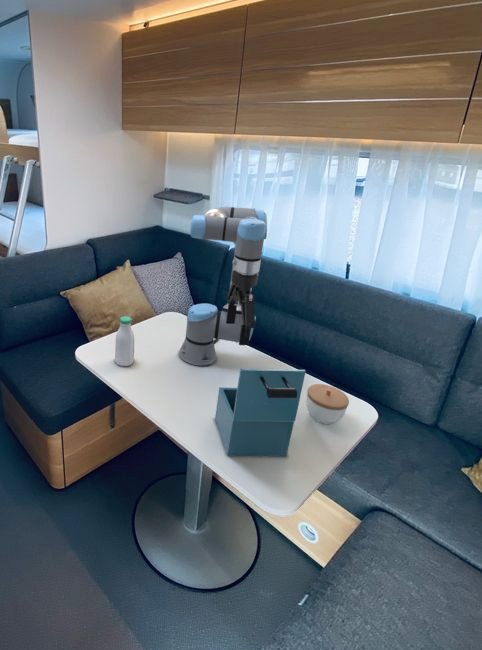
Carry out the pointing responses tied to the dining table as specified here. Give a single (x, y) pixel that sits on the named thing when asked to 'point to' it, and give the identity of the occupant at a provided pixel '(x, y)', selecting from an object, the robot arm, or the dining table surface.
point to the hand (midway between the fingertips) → (236, 333)
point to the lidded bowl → (326, 403)
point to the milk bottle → (124, 343)
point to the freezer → (249, 431)
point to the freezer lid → (268, 394)
